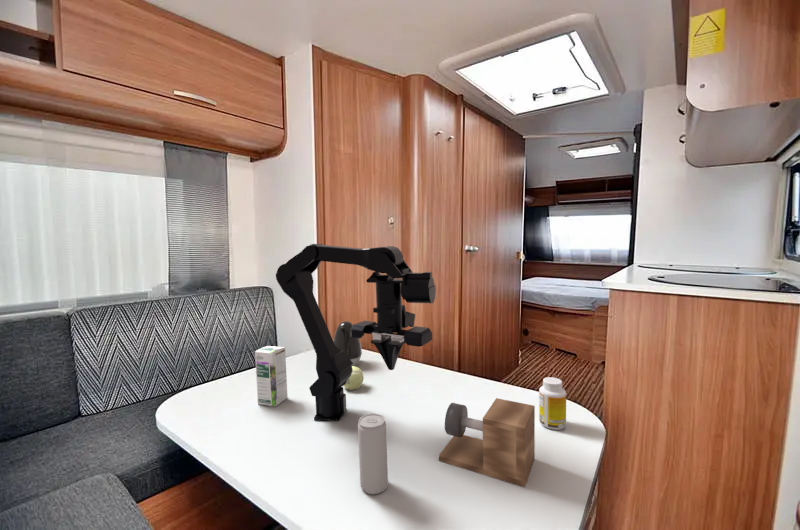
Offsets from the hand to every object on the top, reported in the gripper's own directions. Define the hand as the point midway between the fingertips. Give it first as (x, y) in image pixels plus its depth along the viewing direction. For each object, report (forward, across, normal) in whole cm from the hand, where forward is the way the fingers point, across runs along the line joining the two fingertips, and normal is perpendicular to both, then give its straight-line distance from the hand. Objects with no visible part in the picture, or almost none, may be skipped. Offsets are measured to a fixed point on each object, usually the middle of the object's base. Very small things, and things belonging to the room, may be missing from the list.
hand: (391, 369), depth 82 cm
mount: (+13, -23, +3) cm, 27 cm away
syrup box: (+13, +35, +5) cm, 38 cm away
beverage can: (+13, -8, +19) cm, 25 cm away
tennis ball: (+13, +21, -12) cm, 28 cm away
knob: (+10, -20, +3) cm, 22 cm away
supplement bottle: (+13, -32, -16) cm, 38 cm away
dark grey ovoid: (+13, +34, -26) cm, 45 cm away
